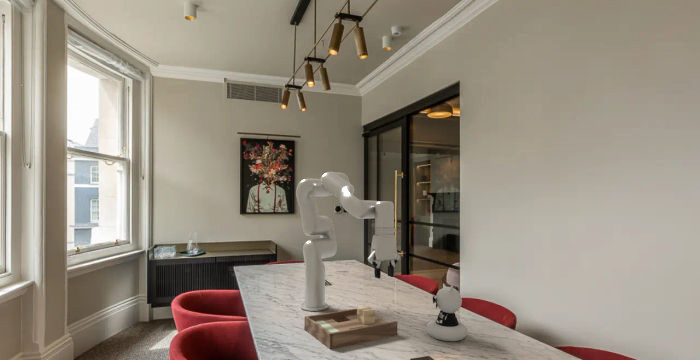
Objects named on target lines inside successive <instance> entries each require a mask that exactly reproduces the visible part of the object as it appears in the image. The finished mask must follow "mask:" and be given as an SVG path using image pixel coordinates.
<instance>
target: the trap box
mask: <svg viewBox="0 0 700 360" xmlns="http://www.w3.org/2000/svg"><path fill="white" fill-rule="evenodd" d="M303 327H304V331H306V332H307V333H308V334H309V335H311V336H312V337H314V338H315V339H316V340H318V342H320V343H321V344H322V345H324V347H327V348H328V349H329V350H333V349H339V348H343V347H347V346H353V345H357V344H361V343H362V344H363V343H367V342H373V341H376V340H377V341H378V340H381V339H386V338H392V337H395V336H397V337H398V321H396V320H395V321H390V322H388V321H385V320H383V319H382V318H380V317H377V316H375V323H370V324H362V323H360V322H358V321H357V308H352V309H351V308H350V309H346V310H345V309H344V310H339V311H332V312H325V313H319V314H312V315H307V316H306V315H305V316H304V325H303Z"/></svg>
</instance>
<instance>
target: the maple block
mask: <svg viewBox="0 0 700 360" xmlns="http://www.w3.org/2000/svg"><path fill="white" fill-rule="evenodd" d="M356 309H357V321H358V322H360V323H362V324H370V323H375V317H376V309H375V308H373V307H370V306H361V307H357V308H356Z"/></svg>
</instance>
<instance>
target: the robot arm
mask: <svg viewBox="0 0 700 360" xmlns="http://www.w3.org/2000/svg"><path fill="white" fill-rule="evenodd" d="M295 190H296V191H295V196H296V200H297V204H298V207H299V213H300V219H301V225H302V231H303V233H304V235H305V236H306V237H319V238H312V239H308V240H307V241H305V242H304V244H303V246H302V254H303V260H304V290H303V291H304V297H303V300H304V303H301V304H300V308H301V309H302V310H303V311H308V312H319V311H323V310H327V309H328V308H329V304H328V303H327V302H326V301H325V300H326V268H325V264H324V262H323V259H328V258H332V257H334V256H335V255H336V254H337V250H338V244H337V243H338V242H337V238H336V231H335V226H334V223H333V220H332V219H331V217H329V216H327V215H319V208H318V205H317V203H316V201H315V200H314V199H313V197H318V198H319V197H323V198H326V197H330V196H334V197H336V198H337V200H339V201H340V204H341V207H342V208H343V209H344V211H346V212H347V213H348V214H349V215H351V216H352V217H354V218H356V219H359V220H363V219H364V220H365V219H369V220H370V219H374V225H375V226H374V234H373V235H372V240H371V246H370V254H369V256H368V257H367V261H368V263H370V264H371V265H372V267H373V268H374V273H373V274H374V278H375V279H378V280H379V279H381V270H382V269H381V268H380V266H381V264H382V262H383V261H384V262H386V261H387V263H388V266H387V276H388V277H390V278H394V275H395V270H394V269H395V267H396V264H397V263H398V261H399V260H400V259H401V255H400V254H399V253H398V251H397V250H398V249H397V239H396V235H395V232H396V230H397V229H396V228H395V221H394V220H395V204H394V202H393V201H391V200H390V201H388V200H382V201H380V200H367V199H366V200H365V199H364V200H363V199H362V200H361V199H359V198H357V197H356V196H355V195H354V194H355V187H354V185H353V184H351V183H350V178H349V177H348V175H347V174H346V173H344V172H339V171H338V172H337V171H336V172H335V171H327V172H325V173H323V174H322V175H321V177H320V178H311V177H310V178H303V179H302V180H301V181H299V182H298V183H297V186H296V189H295Z"/></svg>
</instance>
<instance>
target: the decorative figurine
mask: <svg viewBox="0 0 700 360" xmlns="http://www.w3.org/2000/svg"><path fill="white" fill-rule="evenodd" d="M442 285H443V286H442V288H441V289H439V290H438V291H437V293H436V295H434V294H433V296H432V304H435V308H436V310H437V309H439V310H440V311H439V312H438V315H437V317H436V318H433V319H431V320H430V321H429V322H428V323H427V325H426V331H427V333H428V335H430V337H432V338H434V339H436V340H439V341H444V342H458V341H461V340H463V339H465V338H466V337H467V335H468V329H467V326H466V325H465V324H464V323H463V322H461V321H459V320H458V317H457V316H456V313H457V311H459V310H460V309H461V307H462V304H463V303H462V302H463V299H462V296H461V293H460V292H459V291H458V290H457V289H456V288H454V286H453V285H454V284H451V285H450V286H446V284H445V283H444V282H443V284H442Z"/></svg>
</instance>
